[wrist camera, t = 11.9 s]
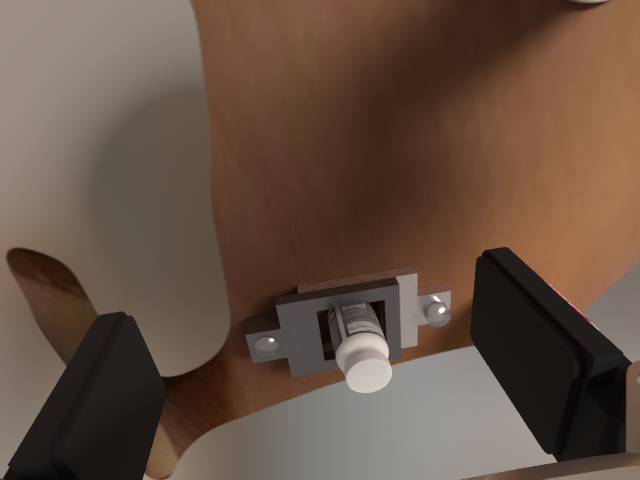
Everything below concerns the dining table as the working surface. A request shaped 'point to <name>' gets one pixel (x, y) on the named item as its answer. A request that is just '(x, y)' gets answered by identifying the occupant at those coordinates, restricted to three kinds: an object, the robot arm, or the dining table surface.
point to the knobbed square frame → (301, 309)
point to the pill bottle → (360, 347)
